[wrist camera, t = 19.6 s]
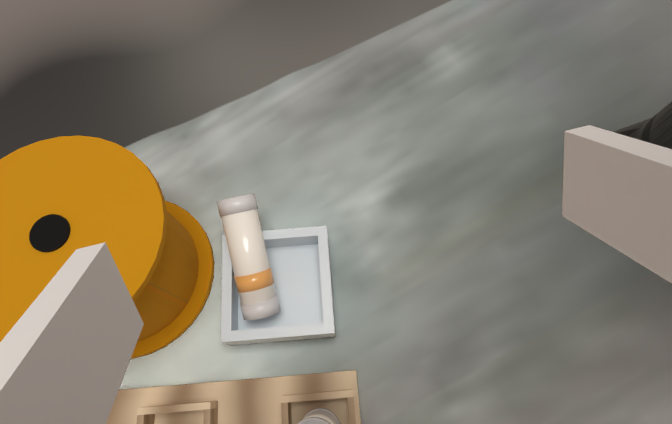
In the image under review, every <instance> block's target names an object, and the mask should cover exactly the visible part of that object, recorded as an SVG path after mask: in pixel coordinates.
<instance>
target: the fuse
mask: <svg viewBox="0 0 672 424" xmlns="http://www.w3.org/2000/svg"><path fill="white" fill-rule="evenodd" d="M297 424H340V422H339V419H338V418H337V416H336V415H335V414H334V413H333V412H332V411H330V410H328V409H325V408H316V409H314V410H312V411H310V412H309V413H308V414H307V415H306V416H305V417H304V418H303V420H301V421H300V422H299V423H297Z"/></svg>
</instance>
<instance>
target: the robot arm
mask: <svg viewBox="0 0 672 424" xmlns="http://www.w3.org/2000/svg"><path fill="white" fill-rule="evenodd" d="M562 216H563V217H564V218H566V219H568V220H569V221H571V222H573V223H574V224H576V225H577V226H579V227H581V228H582V229H584V230H586V231H587V232H589V233H590V234H592V235H594V236H595V237H597V238H599V239H600V240H602V241H603V242H605V243H607V244H608V245H610V246H612V247H613V248H615V249H616V250H618V251H620V252H621V253H623V254H625V255H626V256H628V257H629V258H631V259H633V260H634V261H636V262H637V263H639V264H641V265H642V266H644V267H646V268H647V269H649V270H650V271H652V272H654V273H655V274H657V275H659V276H660V277H662V278H663V279H665V280H667V281H668V282H670V283H672V102H671V103H669V104H668V105H667V106H666V107H664V108H663V109H662V110H661V111H660V112H659V113H658V114H656V115H655V116H654V117H653V118H650V119H648V120H645V121H642V122H639V123H637V124H634V125H631V126H628V127H626V128H623V129H620V130H618V131H615V132H611V131H607V130H604V129H601V128H597V127H594V126H590V125H588V126H584V127H580V128H576V129H572V130H567V131H565V141H564V174H563V207H562ZM143 325H144V323H143V321H142V319H141V317H140V315H139V312H138V310H137V308H136V306H135V304H134V302H133V300H132V298H131V295H130V293H129V291H128V289H127V287H126V285H125V283H124V281H123V278H122V276H121V274H120V272H119V270H118V268H117V266H116V264H115V261H114V259H113V257H112V255H111V253H110V251H109V249H108V247H107V244H106V242H104V243H100V244H96V245H92V246H88V247H84V248H80V249H76V250H75V251H74V253H73V254H72V255H71V256H70V258H69V259H68V260H67V261H66V262H65V264H64V265H63V266H62V267H61V269H60V270H59V271H58V272H57V274H56V275H55V276H54V277H53V278H52V280H51V281H50V282H49V283H48V285H47V286H46V287H45V288H44V289H43V291H42V292H41V293H40V294H39V296H38V297H37V298H36V299H35V301H34V302H33V303H32V304H31V305H30V307H29V308H28V309H27V310H26V312H25V313H24V314H23V315H22V316H21V318H20V319H19V320H18V321H17V323H16V324H15V325H14V326H13V327H12V329H11V330H10V331H9V332H8V334H7V335H6V336H5V337H4V339H3V340H2V341H1V342H0V424H106V422H107V419H108V417H109V414H110V411H111V409H112V406H113V404H114V401H115V398H116V396H117V393H118V390H119V388H120V385H121V383H122V380H123V377H124V375H125V372H126V369H127V367H128V364H129V362H130V359H131V356H132V354H133V351H134V349H135V346H136V343H137V341H138V338H139V335H140V333H141V330H142V328H143Z"/></svg>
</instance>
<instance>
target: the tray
mask: <svg viewBox="0 0 672 424" xmlns="http://www.w3.org/2000/svg"><path fill="white" fill-rule="evenodd" d="M262 233H263V238H264V242H265V246H266V251H267V255H268V260H269V264H270V267H271V271H272V275H273V280H274V287H275V291H276V294H277V295H278V300H279V304H280V309H281V310H280V311H279V312H277V313H276V314H274V315H271V316H268V317H265V318H262V319H257V320H244V319H243V315H242V311H241V306H240V303H241V302H240V297H239V293H238V291H237V286H236V282H235V278H234V276H235V275H234V271H233V267H232V262H231V258H230V253H229V249H228V245H227V240H226V236H225V234H223V236H222V296H221V343H225V344H228V345H240V344H253V343H265V342H277V341H289V340H301V339H313V338H325V337H335V326H334V312H333V299H332V285H331V272H330V259H329V245H328V234H327V226H317V227H304V228H291V229H279V230H266V231H262Z"/></svg>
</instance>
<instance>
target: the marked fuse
mask: <svg viewBox="0 0 672 424" xmlns="http://www.w3.org/2000/svg"><path fill="white" fill-rule="evenodd" d="M217 206H218V210H219V214H220V216H221V218H222V223H223V227H224V231H225V236H226V240H227V245H228V249H229V253H230V258H231V262H232V267H233V271H234V275H235V276H234V278H235V282H236V286H237V291H238V293H239V297H240V302H241V303H240V306H241V311H242V315H243V319H244V320H257V319H262V318H265V317H268V316H271V315H274V314H276V313H277V312H279V311H280V310H281V309H280V304H279V300H278V295H277V294H276V291H275V287H274V280H273V275H272V271H271V267H270V264H269V260H268V255H267V251H266V246H265V242H264V238H263V233H262V229H261V224H260V220H259V215H258V211H257V209H258V206H257V202H256V197H255V194H249V195H244V196H239V197H234V198H229V199H225V200H221V201H217Z"/></svg>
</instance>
